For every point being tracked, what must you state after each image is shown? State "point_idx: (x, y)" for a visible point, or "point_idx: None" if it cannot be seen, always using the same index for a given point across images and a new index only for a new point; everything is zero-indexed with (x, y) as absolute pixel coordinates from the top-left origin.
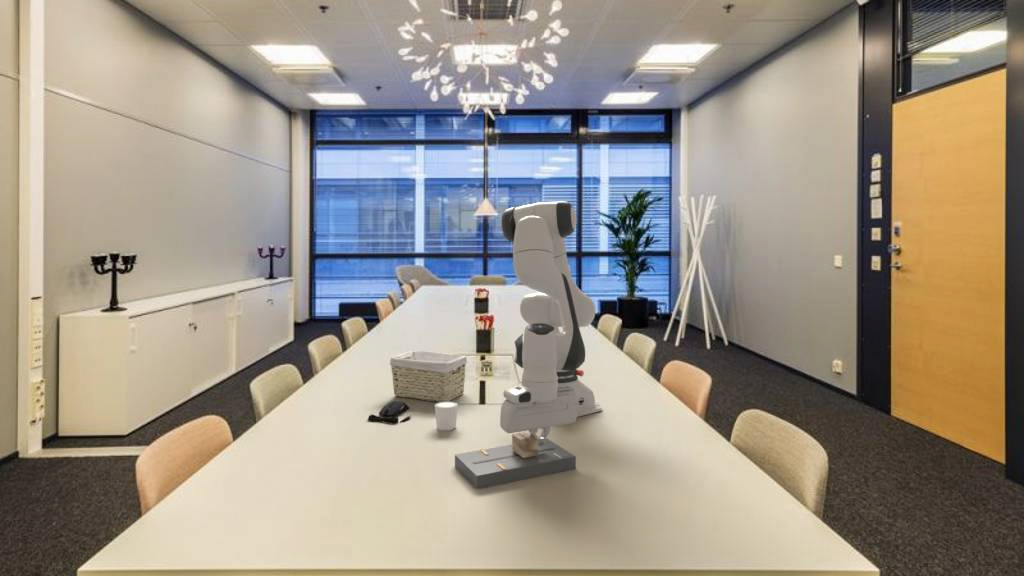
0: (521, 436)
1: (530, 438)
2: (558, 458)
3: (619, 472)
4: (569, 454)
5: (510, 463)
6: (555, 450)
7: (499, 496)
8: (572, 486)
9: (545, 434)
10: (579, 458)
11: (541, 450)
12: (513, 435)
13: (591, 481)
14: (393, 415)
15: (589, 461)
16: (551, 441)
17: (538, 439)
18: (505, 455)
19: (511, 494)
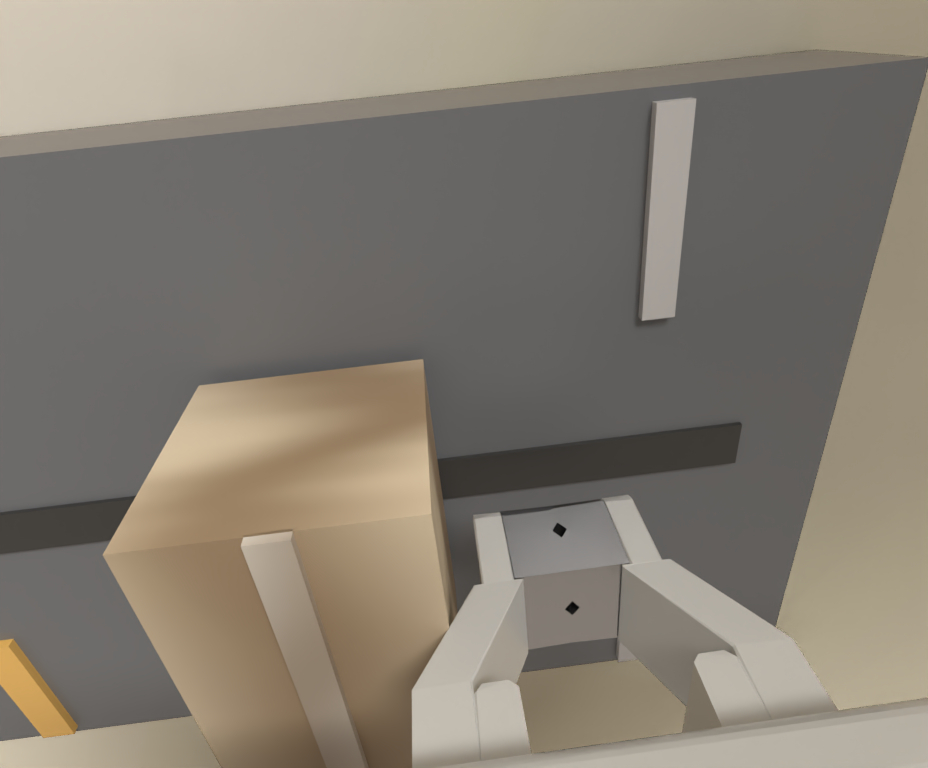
0: (262, 668)
1: (379, 741)
2: (612, 642)
3: (916, 649)
4: (758, 597)
5: (131, 644)
6: (709, 495)
7: (59, 747)
8: (537, 725)
9: (665, 680)
10: (906, 402)
11: (564, 470)
12: (127, 584)
13: (677, 701)
14: None
15: (918, 475)
16: (884, 215)
17: (527, 648)
18: (91, 480)
19: (141, 741)
